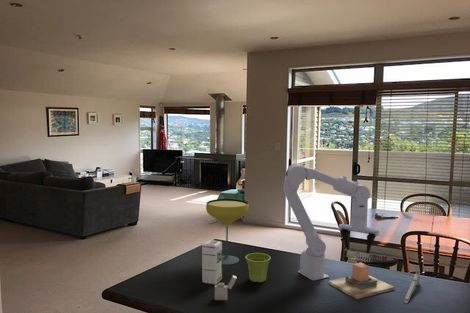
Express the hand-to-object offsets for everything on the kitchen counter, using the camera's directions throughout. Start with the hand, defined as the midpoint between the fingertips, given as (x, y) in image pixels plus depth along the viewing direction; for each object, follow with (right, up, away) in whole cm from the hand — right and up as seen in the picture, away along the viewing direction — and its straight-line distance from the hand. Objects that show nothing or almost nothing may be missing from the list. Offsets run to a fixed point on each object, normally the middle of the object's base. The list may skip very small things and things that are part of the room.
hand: (357, 250), depth 141 cm
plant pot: (-39, -10, -3) cm, 40 cm away
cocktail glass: (-51, -9, +17) cm, 54 cm away
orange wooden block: (-2, -10, -8) cm, 13 cm away
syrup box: (-56, -10, -5) cm, 57 cm away
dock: (-1, -11, -8) cm, 13 cm away
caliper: (+15, -12, -12) cm, 23 cm away
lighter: (-50, -11, -19) cm, 55 cm away
